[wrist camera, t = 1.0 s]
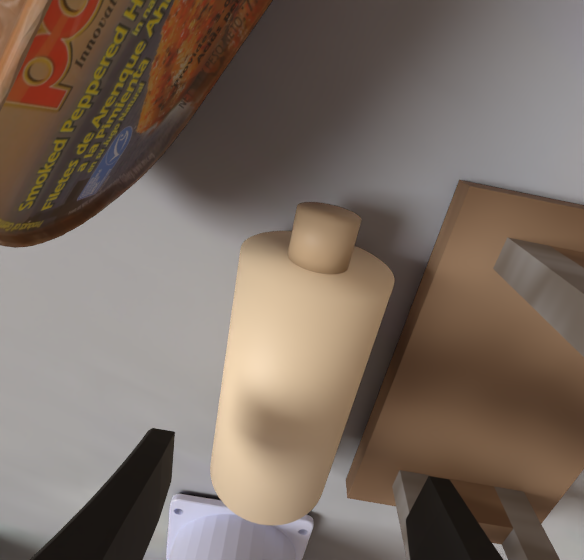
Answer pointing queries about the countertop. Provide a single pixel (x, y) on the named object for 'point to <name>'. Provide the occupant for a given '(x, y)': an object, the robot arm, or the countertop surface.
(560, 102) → the countertop surface
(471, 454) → the holder
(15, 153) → the tin
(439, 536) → the robot arm
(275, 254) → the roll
